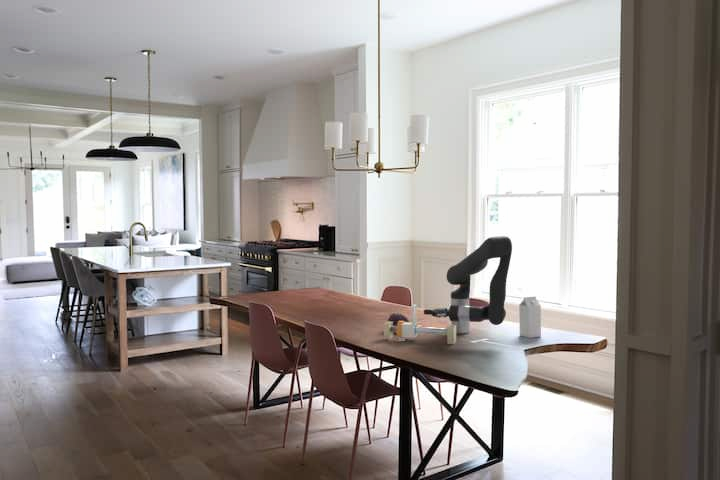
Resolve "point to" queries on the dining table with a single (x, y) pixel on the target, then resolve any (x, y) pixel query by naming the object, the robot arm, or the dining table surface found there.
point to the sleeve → (410, 324)
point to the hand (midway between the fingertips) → (424, 311)
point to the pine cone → (397, 318)
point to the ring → (399, 329)
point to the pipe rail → (424, 331)
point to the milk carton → (530, 317)
